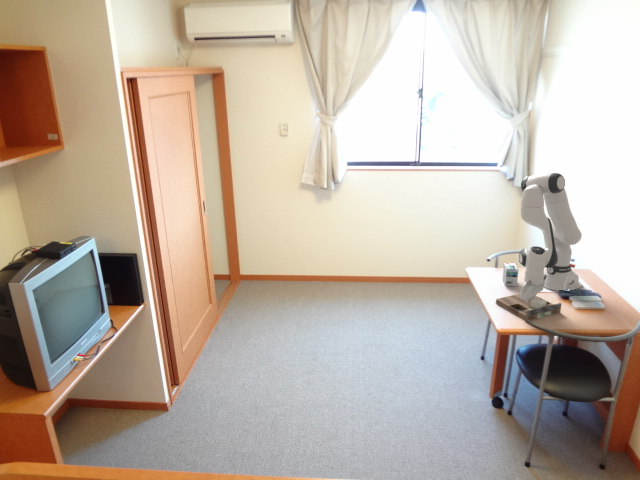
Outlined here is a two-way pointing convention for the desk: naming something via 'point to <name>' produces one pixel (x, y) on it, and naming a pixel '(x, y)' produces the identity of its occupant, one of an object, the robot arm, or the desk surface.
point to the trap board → (527, 307)
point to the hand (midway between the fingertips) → (530, 302)
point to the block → (538, 303)
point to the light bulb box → (510, 274)
